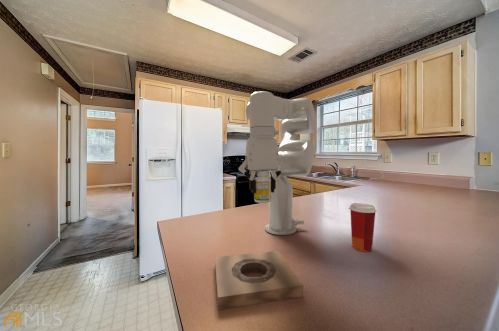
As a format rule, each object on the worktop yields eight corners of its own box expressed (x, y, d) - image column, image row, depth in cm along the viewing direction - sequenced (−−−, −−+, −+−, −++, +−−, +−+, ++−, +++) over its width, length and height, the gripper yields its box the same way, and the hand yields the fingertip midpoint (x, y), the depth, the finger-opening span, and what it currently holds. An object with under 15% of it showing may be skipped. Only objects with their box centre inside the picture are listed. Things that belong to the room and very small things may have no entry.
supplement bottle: (264, 204, 60) (264, 171, 59) (250, 201, 63) (250, 170, 63) (274, 200, 64) (274, 170, 64) (261, 198, 68) (260, 169, 67)
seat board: (277, 259, 59) (277, 250, 59) (302, 296, 43) (303, 285, 43) (215, 266, 55) (215, 257, 55) (218, 309, 40) (217, 297, 40)
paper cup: (372, 244, 68) (373, 203, 68) (378, 255, 61) (379, 209, 60) (346, 241, 71) (347, 201, 70) (349, 251, 63) (350, 207, 63)
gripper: (283, 135, 68) (283, 188, 69) (233, 134, 64) (233, 191, 66) (293, 133, 61) (292, 193, 62) (236, 132, 57) (237, 196, 58)
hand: (262, 191), depth 64 cm, fingers closed on supplement bottle, 5 cm apart
